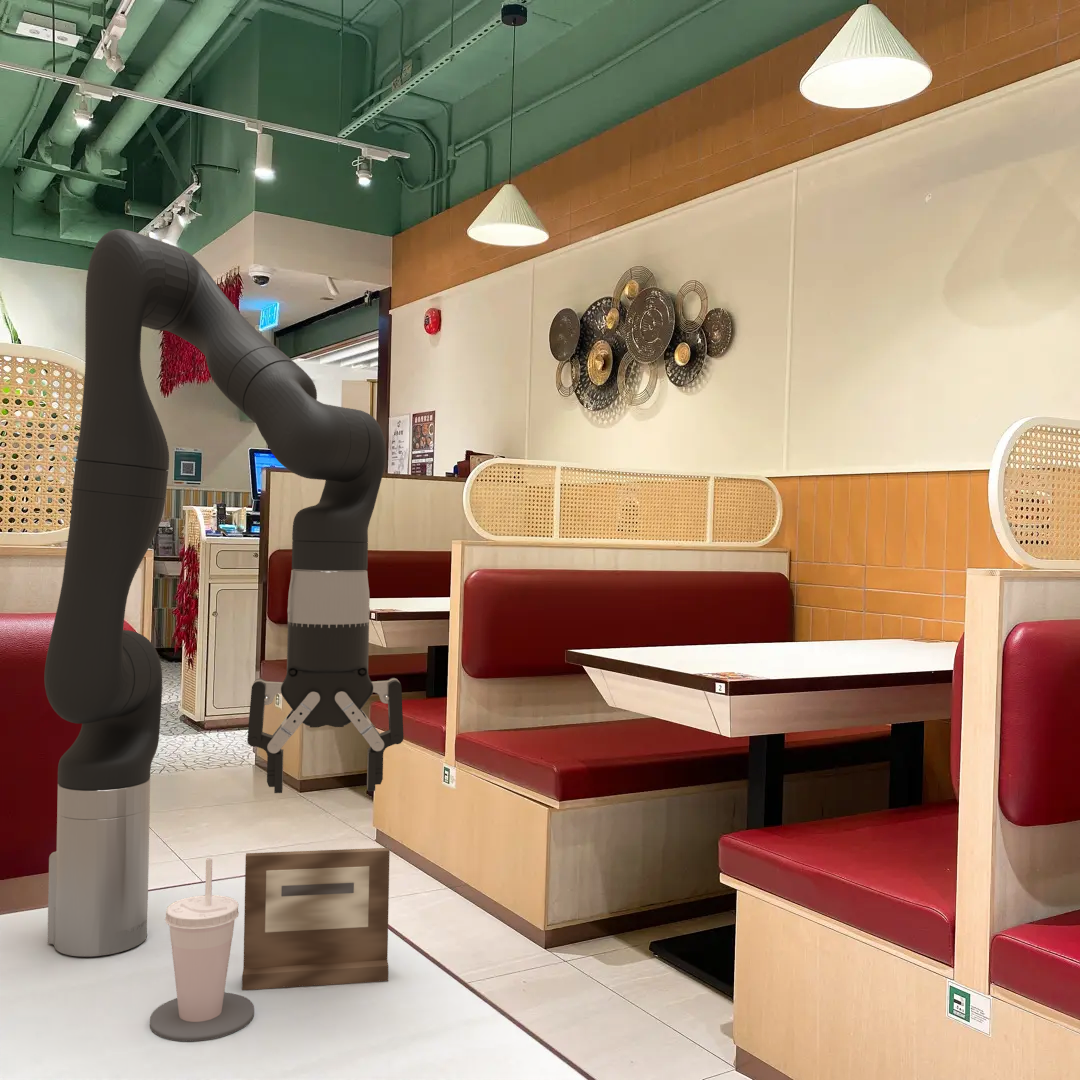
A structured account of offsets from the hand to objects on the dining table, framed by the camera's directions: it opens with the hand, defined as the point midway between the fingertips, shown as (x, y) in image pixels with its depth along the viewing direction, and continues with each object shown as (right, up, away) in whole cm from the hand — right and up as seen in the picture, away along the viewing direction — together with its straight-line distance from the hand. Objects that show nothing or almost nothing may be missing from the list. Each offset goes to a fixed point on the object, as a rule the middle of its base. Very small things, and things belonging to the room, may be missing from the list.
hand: (325, 790), depth 100 cm
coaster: (-10, -20, -3) cm, 23 cm away
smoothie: (-11, -20, -3) cm, 23 cm away
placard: (-2, -20, +6) cm, 21 cm away
